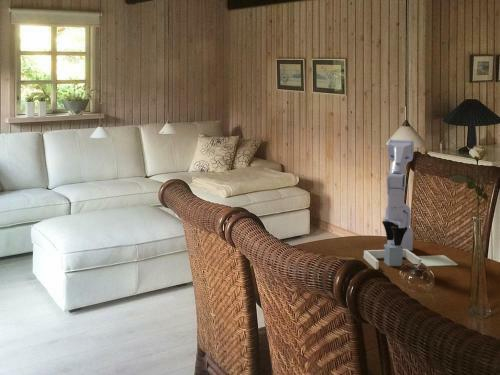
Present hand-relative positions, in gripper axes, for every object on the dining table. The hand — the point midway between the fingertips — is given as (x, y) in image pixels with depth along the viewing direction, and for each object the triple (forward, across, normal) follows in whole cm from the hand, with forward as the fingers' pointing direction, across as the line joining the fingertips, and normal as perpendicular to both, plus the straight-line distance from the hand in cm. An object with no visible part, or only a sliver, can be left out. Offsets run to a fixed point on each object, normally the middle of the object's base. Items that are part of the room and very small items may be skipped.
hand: (393, 242), depth 223 cm
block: (+8, 0, 0) cm, 8 cm away
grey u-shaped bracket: (+8, -1, 0) cm, 8 cm away
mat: (+8, -1, +17) cm, 19 cm away
